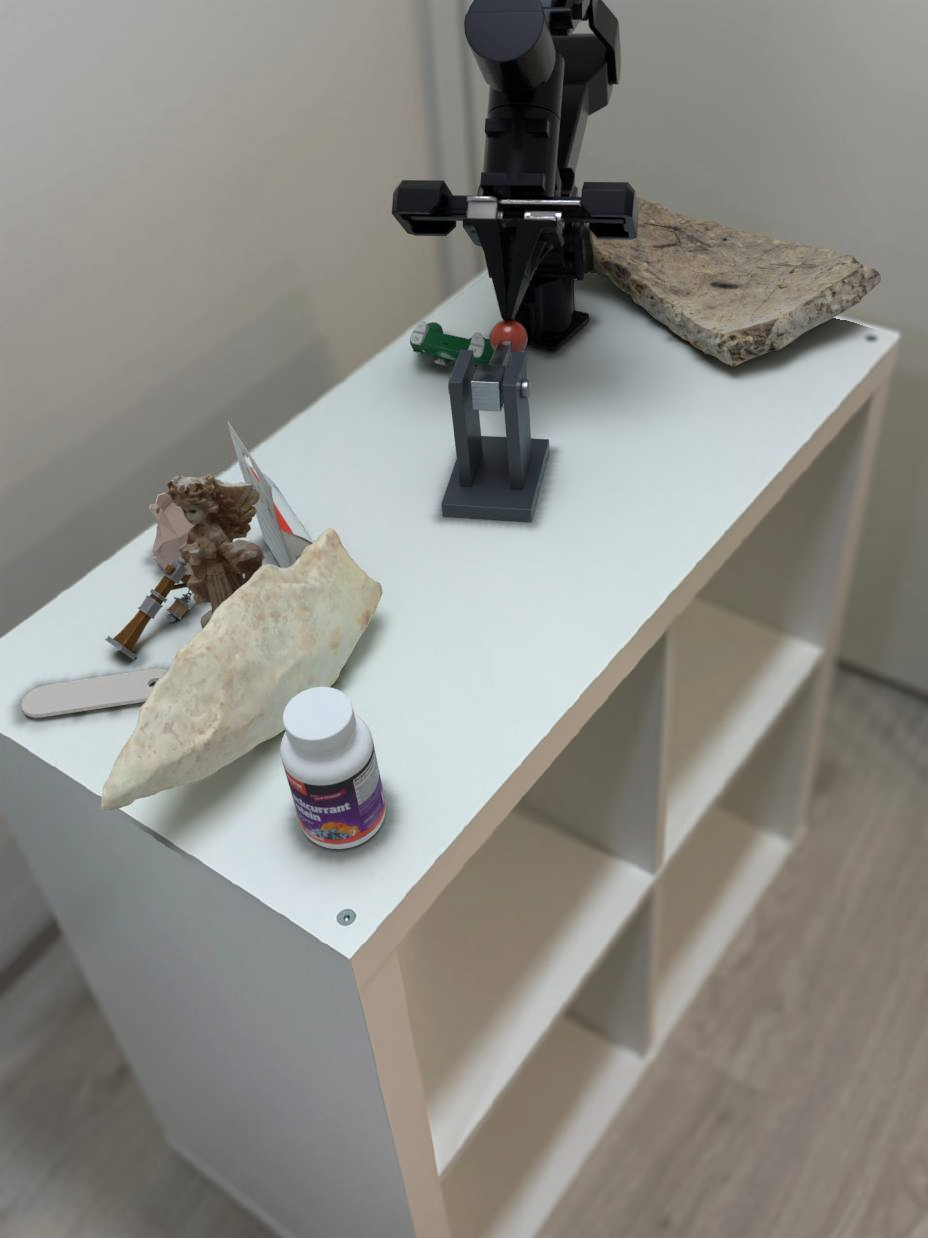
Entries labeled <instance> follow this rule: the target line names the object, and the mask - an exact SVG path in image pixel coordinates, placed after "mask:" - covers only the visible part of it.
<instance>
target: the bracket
mask: <svg viewBox="0 0 928 1238" xmlns="http://www.w3.org/2000/svg"><path fill="white" fill-rule="evenodd" d="M475 370H476V368H475V364H474V353H473V350H460V352H459V355H458V358H457V360H456V361H455V363H454V366H453V369H452V372H451V374H450V376H449V378H448V381H447V391H448V393H447V394H448V395H449V403H450V412H451V419H452V428H453V438H454V447H455V454H456V455H455V456H456V459H455V462H454V465H453V469H452V471H451V473H450V477H449V480H448V483H447V486H446V489H445V491H444V495H443V497H442V500H441V504H440V507H441V515H442V517H450V518H464V519H465V518H466V519H481V520H495V521H511V522H524V523H525V522H526V523H532V521H533V518H534V513H535V509H536V506H537V503H538V497H539V494H540V491H541V487H542V483H543V478H544V473H545V470H546V468H547V467H546V466H547V462H548V458H549V455H550V452H551V451H550V449H551V448H550V439H549V438H534V437H533V438H532V432H531V431H532V430H531V416H530V413H531V412H530V397H531V396H530V395H531V380H530V379H528V367H527V352H526V351H523V352H513V353H512V356H511V359H510V360H509V362H508V365H507V368H506V371H507V372H506V375H505V378H504V381H503V385H502V388H503V401H504V404H503V412H504V424H505V425H504V426H505V436H494V435H482V429H481V428H482V427H481V419H480V418H481V417H480V410H472V400H471V386H470V381H471V379H472V377H473V374H474V372H475Z"/></svg>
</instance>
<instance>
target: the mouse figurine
mask: <svg viewBox="0 0 928 1238" xmlns="http://www.w3.org/2000/svg"><path fill="white" fill-rule="evenodd" d="M170 497H171V495H170V496H169V495H168V494H167V492H162V493H158V494H157V497H156V500H155V503H154V502H153V503H150V504H149V511H150V512H151V514H152V515H153V518H154V521H155V523H156V525H157V526H156V533H155V538H154V542H153V546H152V550H151V551H152V553H151V558H152V559H153V560H155V561H156V562H157V563H158V564H159V566H160V567H161V569H163V570H164V569H165V567H166V566H167V565H168V564H169V565H170V564H171V562H172V560H173V559H174V560H175V561H177V562H178V559H179V558H180V557H181V552H180V551H179V549H180V547H181V546H182V545H183V544H184V543H185V542H186V541H187V538H188V532H189V530H190V529H191V528H192V527H194V526H195V525H192V524H191V523H190V522H188V521H187V519H186V518H185V516H184V512H183V510H182V509H181V507H180V506H177V505H175V503H173V502H171V499H170ZM184 567H185V568H187V569H188V571H187V572H186V573H185V574H184V575H186V576H187V575H191V576H192V575H193V571H192V568H191V565H190V564H189V563H187V565H186V566H184Z"/></svg>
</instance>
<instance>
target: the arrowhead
mask: <svg viewBox="0 0 928 1238" xmlns="http://www.w3.org/2000/svg"><path fill="white" fill-rule="evenodd" d="M382 595H383V588H382V585H381V584H380V583H379V582H378V581H377V580H375V579H373V578H372V577H370V575H368V574H367V572H365V571H364V570H363V569H362V568H361V567H360V566H359V565H358V564H357V563H356V561H355V560H354V559H353V558H352V557H351V556H350V553H348V551H347V549H346V548H345V546H344V545H343V542H342V541H341V538H340V535H339V534H338V532H337V531H336V530H335V529H334V528H330V527H329V528H327V529H326V530H324V531H323V532H322V533H321V534H320V535H319V536H318V537H317V538H316V539H315V541H314V543H312V544H311V545H309V546H307V547H306V548H305V549H304V551H303V553H302V555H301V557H299V558H298V559H297V560H296V562H295V563H294V564H293V565H292V566H290V567H288V568H281V567H280V566H277V565H275V564H269V563H268V564H266V563H265V564H262V566H261V567H260V568H259V569H258V570H257V571H256V572H255V573H254V574H253V575H252V577H251V578H250V579H249V581H248V582H246V583H245V584H244V585H243V586H241V587H240V588H239V589H237V590H236V591H235V592H234V593H233V594H232V595H231V596H230V597H229V598H228V599H226V600H225V601H224V602H222V603H221V604H220V605H219V607H218V608H217V609H216V610H215V611H214V613H213V615H212V617H211V619H210V620H209V622H208V624H207V625H206V626H205V627H204V628H202V629H201V630H200V631H199V632H197V633H196V634H194V635H193V637H192V638H191V639H190V640H189V641H188V642H187V643H186V644H185V645H183V646H182V647H181V648H180V649H178V650H177V652H176V653H175V656H174V658H173V660H172V662H171V664H170V666H169V667H168V668H167V669H166V670H167V671H166V672H165V673H164V674H163V675H162V676H161V677H160V678H159V679H158V681H156V682H154V685H153V687H154V688H153V690H152V692H151V694H150V695H149V697H148V699H147V701H146V702H143V704H141V706H140V708H139V713H138V718H137V721H136V722H137V723H136V726H135V728H134V730H133V732H132V733H131V735H130V737H129V738H128V740H127V741H126V742H125V744H124V745H123V747H122V748H121V750H120V751H119V753H118V755H117V757H116V759H115V761H114V763H113V766H112V769H111V771H110V773H109V776H108V777H107V779H106V780H105V782H104V784H103V786H102V792H101V793H102V794H101V799H100V800H101V801H100V809H101V810H102V811H112V810H119V809H122V808H124V807H127V806H128V807H129V806H130V805H131V804H133V803H134V802H136V801H137V800H139V799H143V798H147V797H151V796H154V795H157V794H159V793H160V792H163V791H166V790H171V789H175V788H178V787H182V786H187V785H191V784H194V783H198V782H200V781H202V780H204V779H206V778H208V777H210V776H212V775H213V774H215V773H216V772H219V770H220V769H222V768H224V767H226V766H228V765H230V764H231V763H233V762H235V761H236V760H238V759H240V758H241V757H242V756H244V755H246V754H248V753H250V752H251V751H252V750H253V749H254V748H255V747H256V746H258V745H260V744H262V743H263V742H266V741H269V740H272V739H273V738H275V737H276V736H278V735H279V734H280V733H282V732H283V731H285V727H284V723H283V713H284V710H285V707H286V706H287V704H288V703H289V702H290V700H291V699H292V698H293V697H295V696H296V695H297V694H299V693H301V692H303V691H305V690H307V689H311V688H315V687H330V688H332V686H333V685H334V684H335V683H336V681H337V680H338V678H339V677H340V673H341V671H342V669H343V668H344V667H345V665H346V663H347V662H348V660H349V658H350V656H351V654H352V652H353V651H354V648H355V647H356V645H357V643H358V642H359V640H360V638H361V636H362V635H363V633H364V632H365V630H366V629H367V627H368V626H369V624H370V622H371V621H372V618H373V616H374V615H375V612H376V610H377V608H378V606H379V603H380V601H381V598H382Z"/></svg>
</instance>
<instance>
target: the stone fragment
mask: <svg viewBox="0 0 928 1238" xmlns="http://www.w3.org/2000/svg"><path fill="white" fill-rule="evenodd" d="M636 197H637V202H638V207H639V219H638V231H637V238H635V239H631V240H616V239H598V238H597V237H596V236H595V235H594V234H593V233H592V232H591V234H592V238H593V243H594V252H595V268H594V270H593V271H591V272H589V273H590V274H593V275H594V274H595V275H597V276H599V277H602V278H604V279H608V280H610V281H611V283H613V284H614V285H615V286H616V287H617V288H619V289H620V290H621V291H623V293H626V294H628V295H629V296H630V297H631V298H632V300H633V303H635V304H636V305H638V306H641V307H642V308H643V309H644V310H646V312H647V313H648V314H649V315H650V316H651V317H652V318H653V319H655V320H656V321H658V322H660V323H661V324H663V325H664V326H667V327H668V328H669V330H670V331H671V332H673V333H674V334H675V335H677V336H679V337H680V338H681V339H682V340H683V341H687V342H689V343H690V345H691V346H693V347H694V348H696V350H697V349H698V350H700V351H701V352H703V353H704V355H710V356H712V357H714V358H716V359H718V360H719V361H720V362H722V363H723V364H726V365H728V366H730V367H737V366H738V365H741V364H743V363H745V362H748V361H750V360H752V359H755V358H757V357H759V356H762V355H765V354H768V353H770V352H777V351H780V350H781V349H783V348H784V347H786V346H788V345H790V344H791V343H792V342H794V341H795V340H796V339H798V338H799V337H800V336H802V335H803V334H805V333H806V332H809V331H810V330H812V329H814V328H816V327H818V326H819V325H822V324H824V323H826V322H828V321H829V320H832V319H833V318H835V317H837V316H839V315H841V314H843V313H844V312H845V311H846V312H847V310H849V309H851V308H852V307H855V306H856V305H857V304H859V303H861V301H862V300H863V298H864V297H865V296H866V295H868V294H870V292H871V291H873V290H874V289H875V288H876V287H877V286H878V285H879V284H880V283H881V281H882V275H881V274H880V273H879V271H878V270H877V269H876V268H873V267H869V266H868V265H866V264H864V263H860V261H858V260H857V259H856V257H854V255H850V254H846V253H845V254H843V253H842V254H841V253H840V254H837V252H835V251H831V250H830V249H827V248H825V247H819V246H817V247H815V246H811V245H806V244H803V243H800V242H793V241H780V240H778V239H776V238H775V239H774V238H769V237H768V236H767V235H764V234H760V233H756V232H748V231H742V230H738V229H736V228H735V229H734V228H733V227H729V226H725V225H724V224H722V223H719V222H716V221H705V220H701V219H700V220H697V219H694V218H691V217H689V216H687V215H684V214H682V213H680V212H676V211H670V210H668V208H667V207H665V206H664V205H662V204H661V203H659V202H651V201H649V200H646V199H644V198H641V197H640V196H636Z"/></svg>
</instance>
